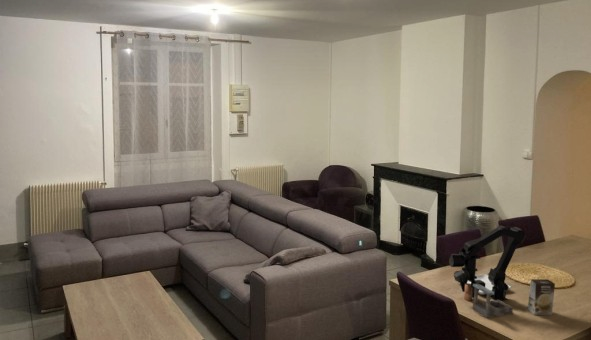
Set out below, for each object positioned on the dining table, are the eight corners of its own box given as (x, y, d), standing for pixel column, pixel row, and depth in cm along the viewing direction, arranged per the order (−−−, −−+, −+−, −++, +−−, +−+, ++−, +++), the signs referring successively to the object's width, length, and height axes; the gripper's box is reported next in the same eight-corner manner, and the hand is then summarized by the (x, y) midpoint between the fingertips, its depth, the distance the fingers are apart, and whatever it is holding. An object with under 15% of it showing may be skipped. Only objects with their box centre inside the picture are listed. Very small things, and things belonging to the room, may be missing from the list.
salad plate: (512, 292, 270) (512, 286, 269) (481, 298, 262) (481, 292, 262) (484, 278, 289) (484, 273, 289) (454, 283, 282) (454, 278, 281)
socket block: (496, 304, 254) (498, 280, 251) (513, 314, 242) (515, 289, 240) (471, 308, 249) (472, 284, 247) (487, 318, 238) (489, 293, 235)
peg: (468, 297, 262) (469, 283, 261) (473, 300, 259) (474, 285, 257) (462, 298, 261) (463, 283, 260) (467, 301, 257) (468, 286, 256)
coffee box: (534, 315, 241) (536, 284, 239) (527, 309, 248) (529, 279, 245) (552, 315, 242) (555, 283, 239) (545, 309, 248) (548, 278, 245)
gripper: (446, 262, 263) (444, 289, 266) (468, 274, 246) (466, 304, 248) (463, 260, 267) (462, 287, 269) (486, 271, 249) (485, 301, 252)
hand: (468, 294), depth 259 cm, fingers open, 8 cm apart
